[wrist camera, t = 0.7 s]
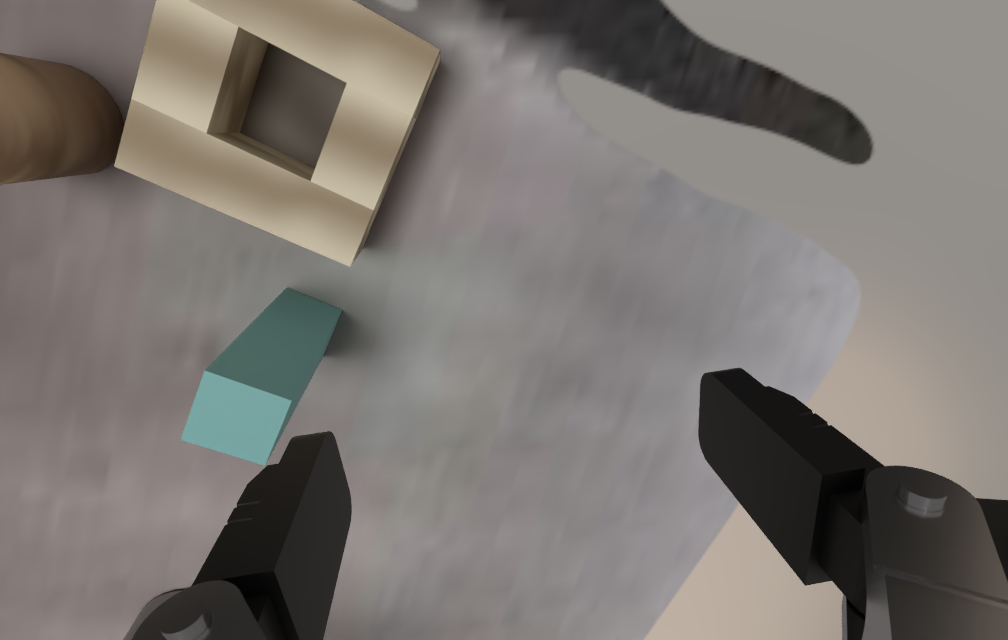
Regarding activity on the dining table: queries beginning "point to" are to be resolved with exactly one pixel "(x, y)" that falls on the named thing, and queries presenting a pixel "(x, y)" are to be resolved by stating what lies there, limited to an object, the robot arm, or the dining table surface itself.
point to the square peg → (261, 378)
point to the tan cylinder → (54, 121)
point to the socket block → (278, 113)
